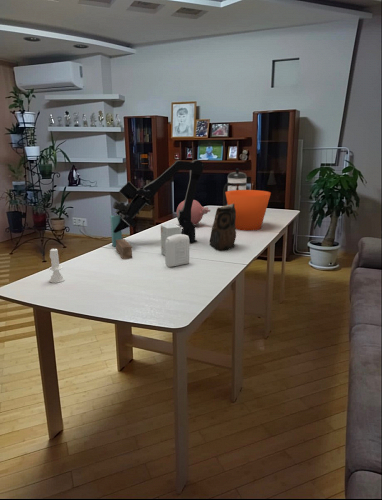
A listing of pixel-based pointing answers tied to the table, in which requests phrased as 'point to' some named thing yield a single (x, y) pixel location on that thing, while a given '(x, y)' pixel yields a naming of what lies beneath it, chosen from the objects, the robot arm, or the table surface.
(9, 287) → the table surface
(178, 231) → the small box
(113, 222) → the tall teal pillar
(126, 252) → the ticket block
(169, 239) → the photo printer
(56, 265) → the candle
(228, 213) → the owl
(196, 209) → the balloon
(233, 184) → the coffee press
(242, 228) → the flowerpot
